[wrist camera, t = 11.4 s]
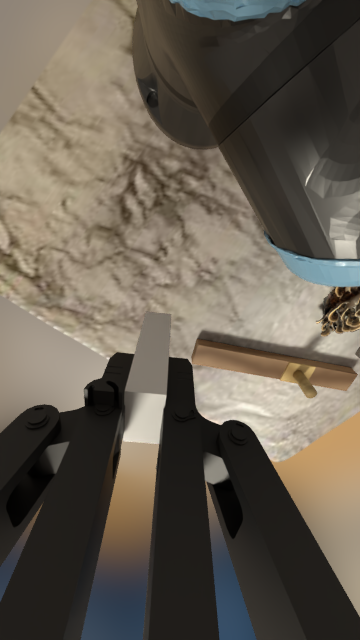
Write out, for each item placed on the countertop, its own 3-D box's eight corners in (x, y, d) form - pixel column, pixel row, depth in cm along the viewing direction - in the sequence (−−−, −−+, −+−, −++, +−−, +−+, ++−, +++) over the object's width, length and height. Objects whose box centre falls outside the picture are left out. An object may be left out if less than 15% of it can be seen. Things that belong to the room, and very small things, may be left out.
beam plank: (197, 338, 43) (200, 363, 36) (350, 367, 46) (378, 395, 40) (191, 357, 45) (193, 384, 38) (339, 383, 48) (364, 413, 42)
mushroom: (342, 259, 37) (361, 267, 33) (384, 271, 38) (407, 280, 34) (303, 326, 42) (315, 339, 39) (341, 335, 43) (357, 349, 40)
